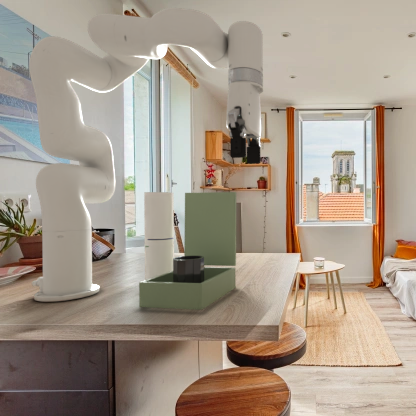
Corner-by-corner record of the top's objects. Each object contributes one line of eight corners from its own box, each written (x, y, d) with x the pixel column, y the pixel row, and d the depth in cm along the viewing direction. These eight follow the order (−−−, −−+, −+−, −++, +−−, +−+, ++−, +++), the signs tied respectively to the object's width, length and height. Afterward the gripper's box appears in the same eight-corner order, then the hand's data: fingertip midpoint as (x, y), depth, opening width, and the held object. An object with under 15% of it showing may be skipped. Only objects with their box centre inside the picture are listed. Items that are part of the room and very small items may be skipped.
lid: (235, 192, 82) (236, 192, 82) (184, 192, 84) (186, 193, 84) (234, 265, 81) (236, 265, 82) (184, 264, 83) (185, 264, 84)
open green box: (202, 313, 64) (201, 284, 64) (139, 310, 66) (139, 282, 66) (235, 290, 82) (235, 267, 82) (185, 288, 84) (184, 266, 84)
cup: (167, 301, 70) (167, 259, 70) (183, 293, 76) (183, 255, 76) (195, 302, 69) (195, 260, 69) (209, 294, 75) (208, 255, 75)
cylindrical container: (162, 288, 84) (162, 191, 84) (138, 287, 85) (138, 192, 85) (179, 282, 91) (178, 193, 91) (156, 281, 92) (156, 193, 92)
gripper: (243, 97, 81) (243, 166, 81) (212, 67, 64) (213, 155, 64) (272, 95, 80) (273, 165, 80) (249, 65, 63) (249, 154, 63)
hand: (246, 160), depth 72 cm, fingers open, 9 cm apart
